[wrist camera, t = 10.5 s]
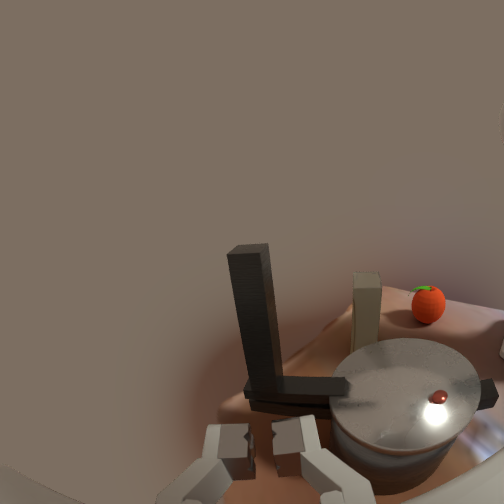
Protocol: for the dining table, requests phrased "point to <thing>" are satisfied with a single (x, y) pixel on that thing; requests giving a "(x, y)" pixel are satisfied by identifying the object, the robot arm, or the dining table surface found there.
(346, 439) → the pot
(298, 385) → the lid
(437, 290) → the clementine
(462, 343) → the dining table surface
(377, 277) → the skincare box
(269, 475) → the dining table surface
